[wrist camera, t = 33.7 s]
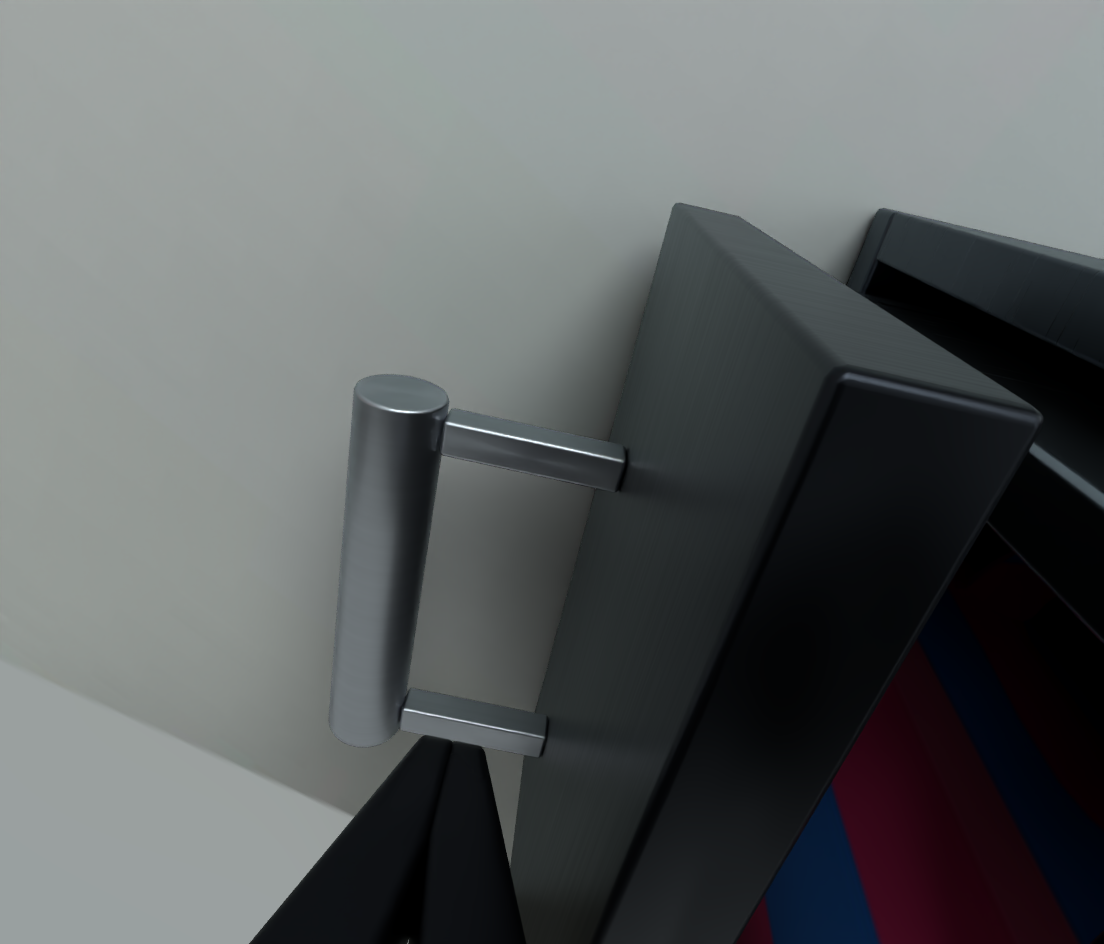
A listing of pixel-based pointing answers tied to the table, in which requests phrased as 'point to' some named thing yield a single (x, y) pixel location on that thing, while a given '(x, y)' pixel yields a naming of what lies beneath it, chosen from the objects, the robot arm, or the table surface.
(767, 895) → the cup
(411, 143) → the table surface
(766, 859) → the rack drawer
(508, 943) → the robot arm
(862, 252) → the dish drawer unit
